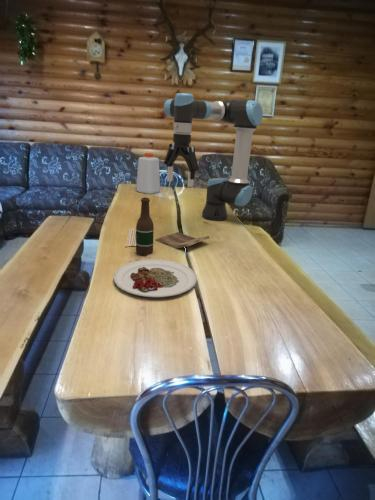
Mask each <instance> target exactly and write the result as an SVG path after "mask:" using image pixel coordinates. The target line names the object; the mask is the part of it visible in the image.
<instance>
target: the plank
mask: <svg viewBox="0 0 375 500" xmlns="http://www.w3.org/2000/svg"><path fill="white" fill-rule="evenodd" d="M195 238H196V239H193V240H191V241H188V242H185V243H182V244H179V245H176V246H174V248H173V249H181V248H186V247H190V246H193V245H195V244H197V243H200V242H203V241H206V240H209V239H210V236H209V235H207V236H201V237H195Z"/></svg>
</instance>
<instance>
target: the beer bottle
mask: <svg viewBox="0 0 375 500" xmlns="http://www.w3.org/2000/svg"><path fill="white" fill-rule="evenodd" d="M140 202H141V203H140V204H141V205H140V216H139V218H138V219H137V222H136V227H135V229H136V246H135V254H136V255H138V256H140V257H148V255H151V254H154V253H153V252H154V234H155V233H154V231H155V230H154V229H155V228H154V227H155V226H154V221H153V219H152V218H151V215H150V202H151V201H150V198H149V197H142V198H141V199H140Z"/></svg>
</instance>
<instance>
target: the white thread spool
mask: <svg viewBox="0 0 375 500" xmlns="http://www.w3.org/2000/svg"><path fill="white" fill-rule="evenodd" d="M137 161H138V162H137V176H136V177H137V178H136V188H135V189H136V192H137V191H138V193H141V194H145V195H152V194H157V193H160V192H161V179H160V178H161V177H160V176H161V175H160V159H159V157H155V156H154V153H151V152H146V153H144V156H140V157H138V160H137Z"/></svg>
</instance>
